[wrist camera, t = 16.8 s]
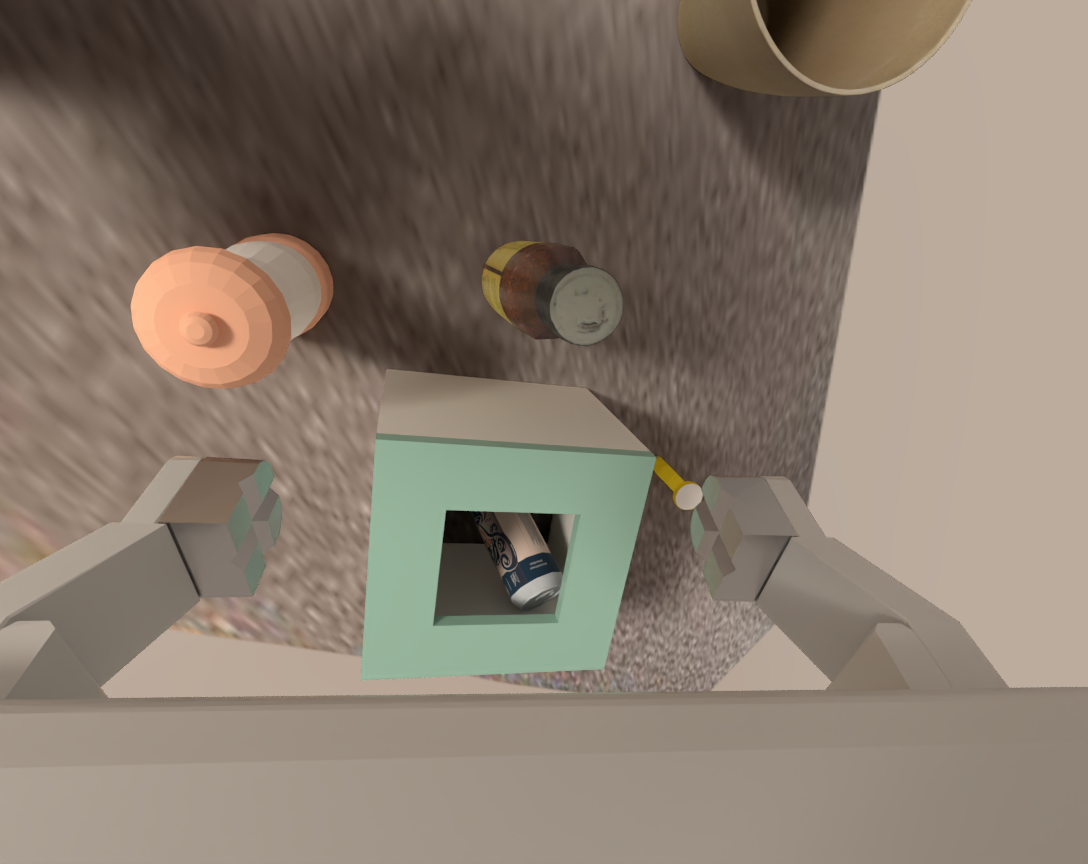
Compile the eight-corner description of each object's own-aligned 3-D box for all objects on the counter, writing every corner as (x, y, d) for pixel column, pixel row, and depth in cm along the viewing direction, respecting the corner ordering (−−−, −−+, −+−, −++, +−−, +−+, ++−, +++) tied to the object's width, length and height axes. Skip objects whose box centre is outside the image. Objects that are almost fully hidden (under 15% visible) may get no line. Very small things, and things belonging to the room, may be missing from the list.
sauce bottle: (533, 327, 48) (607, 395, 30) (467, 298, 46) (504, 353, 28) (565, 256, 46) (664, 283, 28) (498, 222, 44) (559, 228, 26)
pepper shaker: (354, 290, 44) (316, 340, 26) (285, 348, 44) (204, 436, 27) (281, 211, 40) (184, 210, 23) (208, 275, 41) (60, 320, 24)
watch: (636, 462, 56) (657, 486, 50) (656, 443, 55) (680, 465, 50) (671, 498, 58) (695, 525, 52) (690, 480, 57) (717, 505, 52)
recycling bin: (374, 551, 52) (360, 680, 38) (386, 368, 46) (375, 439, 32) (554, 553, 57) (603, 668, 43) (586, 388, 51) (656, 457, 37)
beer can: (457, 479, 48) (515, 603, 42) (506, 458, 49) (569, 576, 44) (462, 503, 52) (516, 619, 46) (508, 483, 53) (566, 594, 48)
